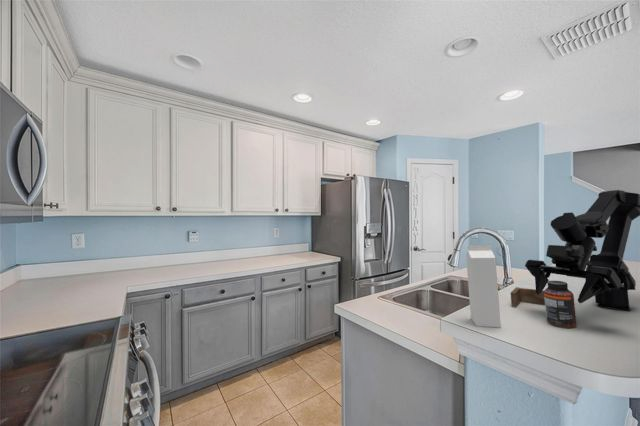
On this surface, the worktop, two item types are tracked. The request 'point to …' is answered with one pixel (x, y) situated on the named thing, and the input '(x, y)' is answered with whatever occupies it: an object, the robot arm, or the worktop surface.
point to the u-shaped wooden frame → (526, 296)
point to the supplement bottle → (559, 305)
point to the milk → (483, 286)
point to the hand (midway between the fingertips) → (557, 297)
